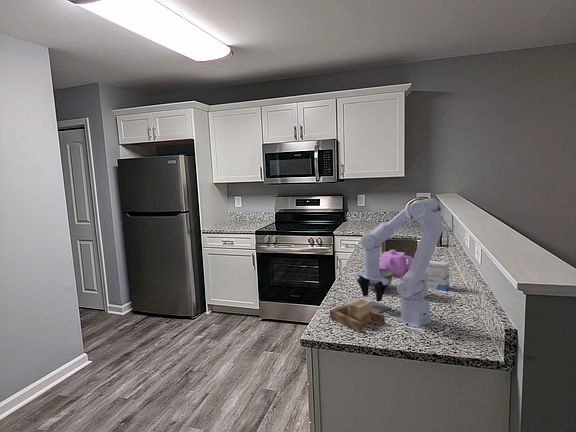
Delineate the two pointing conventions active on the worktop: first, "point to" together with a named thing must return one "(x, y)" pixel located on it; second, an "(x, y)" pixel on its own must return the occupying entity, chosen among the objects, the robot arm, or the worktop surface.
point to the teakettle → (395, 262)
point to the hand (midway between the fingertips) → (372, 298)
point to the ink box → (438, 275)
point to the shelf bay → (356, 325)
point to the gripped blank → (360, 310)
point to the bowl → (384, 273)
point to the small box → (425, 286)
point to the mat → (378, 307)
